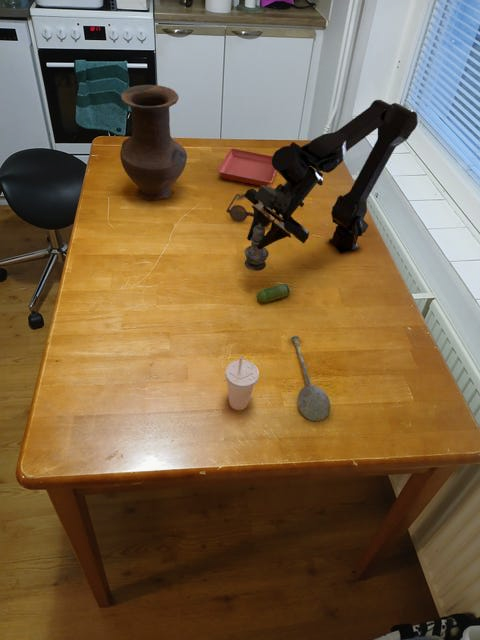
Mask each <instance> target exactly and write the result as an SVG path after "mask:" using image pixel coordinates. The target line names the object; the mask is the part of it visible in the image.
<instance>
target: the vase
mask: <svg viewBox="0 0 480 640" xmlns="http://www.w3.org/2000/svg"><path fill="white" fill-rule="evenodd" d="M120 98H121V101H122V103H123V104H124V105H126V106H129V107H130V109H131V121H132V135H130V136H129V137H127V138H126V139H125V140H123V142H122V144H121V148H120V152H119V157H120V162H121V166H122V168H123V170H124V172H125V173H126V175H127V176H128V177H129V178H130V180H131V181H132V182H133V183H134V184H135V185H136V186H137V187H138V188H139V189H138V195H139V196H140V197H141V198H142V199H144V200H146V201H151V202H153V201H158V200H162V199H167V198H169V197H170V196H171V194H172V191H171V189H170V188H171V186H173V185H174V184H175V182H176V181H177V180H178V179H179V178H180V177H181V175H182V174H183V173H184V170H185V167H186V165H187V161H188V153H187V150H186V149H185V147H184V146H183V145H182V144H181V143H179V142H177V141H176V140H174V139H173V138H172V135H171V125H170V122H171V121H170V119H171V117H170V107H172V106H174V105H176V104H177V103H178V101H179V94H178V92H176V91H175V90H174V89H172V88H170V87H167V86H164V85H159V84H141V85H134V86H130V87H128V88H126V89H124V90H123V91H122V93H121V95H120Z"/></svg>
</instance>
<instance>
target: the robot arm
mask: <svg viewBox="0 0 480 640" xmlns="http://www.w3.org/2000/svg"><path fill="white" fill-rule="evenodd" d="M418 123H419V119H418V114H417V112H416V111H413V110H412V109H410V108H408V107H405V106H403V105H401V104H399V103H397V102H393V103H391V104H390V103H388V102H386V101H384V100H382V99H375V100H374V101H372V102H371V104H370V105H369V107H368V108H366V109H365V110H363V111H362V112H361V113H359V114H358V115H356V116H355V117H354V118H352V119H351V120H350V121H348V122H347V123H346V124H345V125H343V126H342V127H340V128H339V129H338V130H336V131H334V132H328V133H323V134H321V135H319V136H317V137H316V138H313V139H312V140H311V141H310V142H308V143H306V144H304V145H301V146H300V144H297V143H296V142H294V141H292V142H291V143H290V145H285V146H282V147H280V148H279V149H277V150H276V151H275V152H274V153H273V155H272V156H273V157H272V166H273V167H274V169H275V170H276V172H277V173H278V174H279V175H280V176H281V177H282V178H283V179H284V180H285V183H284V184H283V183H279V184H277V186H276V187H275V188H274V187H271V186H269V185H267V186H263V185H260V186H259V188H258V190H256V189H254V188H253V187H252V188H249V189H247V190H246V192H245V193H244V196H243V197H244V198H245V199H247V200H248V201H249V202H250V203H251V204H252V205H251V208H252V209H253V213H254V217H252V221H251V225H250V228H249V231H248V234H247V236H246V239H247V241H249V242H251V237H252V236H253V228H254V227H255V226H256V225H258V224H259V223H261V226H263V227H264V228H266V227H265V226H266V225H267V224H268V223H269V222H270V221H271V220H270V219H269V218H268V217H267V216H268V215H270V217H272V218H273V219H274V218H275V219H276V220H275V222H273V221H272V223H270V228H269V230H268V231H267V233H265V236H264V238H263V239H262V240H261V242H260V243H259V245H258V246H257V248H258V249H262V248H266V247H268V246H269V245H272V244H273V243H275V242H278V241H280V240H282V239H285V238H287V237H288V238H289V239H291V237H292V235H293V236H294V238H295V239H297V240H298V241H300V242H301V243H302V244H305V243H306V242H307V240H308V239H309V236H310V231H308V230H307V228H305V226H303V225H302V224H300V222H298V221H297V220H295V219H294V217H293V216H292V215H293V214H294V213H295V211H296V210H297V209H298V208H299V207H300V208H303V207H304V206H305V203H304V200H305V199H306V198H307V196H308V195H309V194H310V193H311V192H312V190H313V189H314V187H315V186H316V185H319V186H320V187H322V186H323V185H324V184H323V183H324V180H323V176H324V173H327V174H329V173H331V172H333V171H334V170H335V169H336V168H337V167H338V166H339V165H340V164H341V163H343V162H344V160H345V157H346V154H347V153H348V151H350V150H351V149H352V148H353V147H354V146H356V145H357V144H358V143H360V142H361V141H363V140H364V139H365V138H367V137H368V136H369V135H371V134H372V133H373V132H375V130H376V131H377V139H376V141H375V143H374V145H373V147H372V149H371V150H370V152H369V154H368V156H367V158H366V160H365V162H364V164H363V165H362V167H361V169H360V171H359V173H358V175H357V177H356V179H355V181H354V183H353V184H352V187H351V188H350V190H349V191H348V192H347V193H345V194H344V195H342V194H341V195H338V197H337V199H336V201H335V203H334V205H333V206H332V208H331V213H330V215H331V219H332V221H331V222H332V223H333V224H335V225H336V226H335V230H334V231H333V234H332V238H329V239H328V243H330V244H331V245H332V246H333V247H334V248H335V249H336V250H337V252H339V253H340V254H346V253H348V252H352V251H356V250H357V251H358V250H359V249H360V246H359V245H358V244H357V242H358V239H359V237H362V236H363V234H364V233H366V231H367V230H368V228H369V224H368V223H367V222H366V221H365V220H364V218H365V217H366V215H367V211H368V198H369V196H370V194H371V193H372V191H373V189H374V187H375V185H376V184H377V181H378V180H379V178H380V176H381V175H382V173H383V171H384V169H385V167H386V165H387V164H388V161H389V160H390V158H391V156H392V154H393V153H394V151H395V149H396V148H397V147H399V146H400V145H401V144H403V143H404V142H406V141H407V140H408V139H409V138H410V136H411V134H412V133H413V132H414V131H415V130H416V128H417V126H418ZM276 221H277V223H276Z"/></svg>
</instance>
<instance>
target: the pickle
mask: <svg viewBox="0 0 480 640" xmlns="http://www.w3.org/2000/svg"><path fill="white" fill-rule="evenodd" d="M291 290H292V288H291V286H290V285H289V283H281V284H277V285H273V286H268V287H266V288H263V289H260V290H259V291H258V292H257V293H256V298H257V301H259V303H268V302H270V301H274V300H277V299H281V298H284V297H287V296H289V295H290V294H291Z"/></svg>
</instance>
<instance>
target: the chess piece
mask: <svg viewBox="0 0 480 640" xmlns="http://www.w3.org/2000/svg"><path fill="white" fill-rule="evenodd" d="M265 235H266V227H263V226H261V223H259V224H258V225H256V226H255V227H254V228H253V236H252V237H251V240H250V242H251V244H250V245H249V246H247V247H246V248H245V249H244V256H245V258H246V259H245V260H244V266H245V268H246V269H248V270H250V271H253V272H260V271H263V270H265V268H266V266H267V263H266V260H267V258H268V257H269V255H270V254H269V250H268V249H267V248H266V247H264V248H262V249H258V248H257V246H258V245H259V243H260V242H261V240H262V239H263V238H264V236H265Z"/></svg>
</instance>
